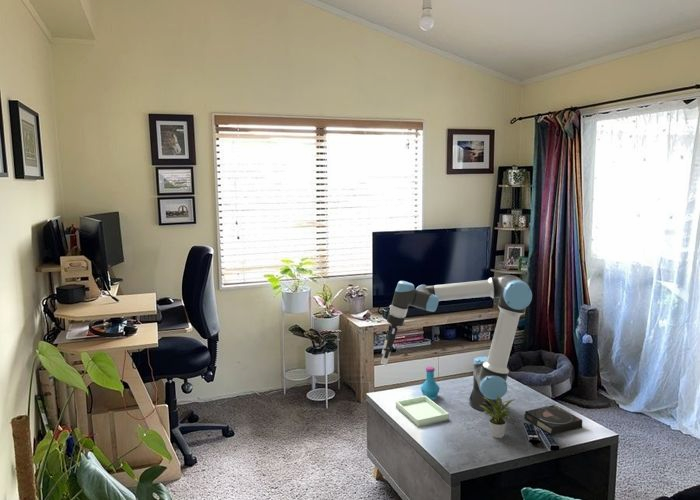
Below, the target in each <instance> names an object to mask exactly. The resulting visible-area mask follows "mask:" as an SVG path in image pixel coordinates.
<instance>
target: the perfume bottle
mask: <svg viewBox="0 0 700 500" xmlns="http://www.w3.org/2000/svg"><path fill="white" fill-rule="evenodd" d="M425 371H426V380H424V382H423V383H422V385H421V386H420V390H421V393H422V396H427V397H428V398H429V399H431V400H432V401H433V400H436V399H437V398H438V396H439V395H438V394H439V393H440V386H439V385H438V383H437V382H436V381H435V373H434V372H435V371H436V369H435V367H433V366H427V367H425Z"/></svg>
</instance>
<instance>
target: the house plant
mask: <svg viewBox="0 0 700 500" xmlns="http://www.w3.org/2000/svg"><path fill="white" fill-rule="evenodd" d="M483 398H484V397H483ZM485 399H487V398H485ZM487 400H488V402H489V403H490V404H492V405H491V406H493V407H492V408H493V410H494V411H493V410H492V411H490V410H488V409H487V408H485V407H484V406H481V405H480V406H481V407H482V408H483V409H484V410H485V411H483V412H481V413H482V414H488V415H490V418H489V419H488V424H489V429H490V431H489V432H490V435H491V436H492V437H493V438H496V439H501V438H503V437H504V436H505V430H506V428H507V427H506V426H507V420H506V419H504V418H508V419H510V418H511V417H510V414H511V412H510V411H509V410H507V407H508V406H509V405H510V404H511V403H512V401H515V400H516V398H515V399H510V400H506V401H504V402H503V399H502V398H501V402H500V404H499V397H498V395H497V400H496V405H497V407H496V405H495V404H494V405H495V406H494V405H493V403H494V402H493V401H492V402H493V403H492V402H491V401H490V400H489V399H487ZM484 404H485V403H484ZM504 404H505V405H504ZM486 405H487V404H486ZM495 407H496V408H495ZM509 413H510V414H509Z"/></svg>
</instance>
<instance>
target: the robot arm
mask: <svg viewBox="0 0 700 500" xmlns="http://www.w3.org/2000/svg"><path fill="white" fill-rule="evenodd" d="M486 297H490V298H492V299H498V303H497V308H498V309H499V313H498V316H497V321H496V325H495V328H494V332H493V335H492V340H491V345H490V348H489V351H488V356H477V357H474V359H473V364H472V365H473V373H472V374H473V380H472V381H473V382H472V384H473V385H472V386H473V387H472V391H471V394H470V395H469V399H468V401H469V402H468V404H469V405H470V407H471V408H473V409H475V410H477V411H485V410H484V409H483V408H482V407H481V406H484V407H485V408H487V409H488V410H490V411H491V412H494V410H493V408H492V407H493V406H491V405H492V404H490V403H489V402H488V400H487V399H489V400H490V401H491V402H492V401H493V402H494V403H493V402H492V403H493V405H494V404H495V405H496V400H497V395H498V397H499V404H500V402H501V399H502V398H503V397H504V396H505V395H506V394H507V392H508V383H507V380H508V376H509V372H510V370H509V368H508V367H507V366H508V362H509V358H510V354H511V351H512V347H513V343H514V339H515V335H516V333H517V327H518V325H519V321H520V316H523V315H524V314H525V313H526V311H527V310H526V309H527V307H529V305H530V304H531V302H532V300H533V293H532V290H531V287H530V286H529V284H528V283H526V282H525V281H523V280H522V279H521V278H520V277H518V276H517V275H511V274H507V275H500V276H492V277H489V278H488V279H483V280H475V281H473V280H472V281H465V282H463V281H462V282H454V283H444V284H435V285H426V284H420V285H418V286H417V287H416V288H415V285H414V284H413V283H412V282H408V281H405V280H399V281H398V282H397V285H396V287H395V290H394V294H393V298H392V301H391V304H390V305H388V307H389V311H388V315H387V317H386V322H387V323H388V324H389V326H388V328H387V333H386V337H385V340H384V343H383V347H382V351H381V354H382V358H381V360H380V364H381V365H384V366H387V365H388V362H389V359H390V356H391V353H392V350H393V345H394V342H395V338H396V337H397V336H396V335H397V333H398V330H399V329H398V327H402V326H403V325H404V323H405V320H406V316H407V313H408V310H409V307H410V306H411V307H414V308H417V309H420V310H422V311H423V310H424V311H426V312H431V313H433V312H436V310H437V308H438V306H439V303H440V302H441V301H453V300H463V299H472V298H473V299H475V298H486ZM483 397H484V398H483ZM485 398H487V399H485ZM484 403H485V404H484ZM486 404H487V405H486ZM480 405H481V406H480ZM495 405H494V406H495ZM496 407H497V405H496ZM496 407H495V408H496ZM492 410H493V411H492Z"/></svg>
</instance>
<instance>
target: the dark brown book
mask: <svg viewBox="0 0 700 500" xmlns="http://www.w3.org/2000/svg"><path fill="white" fill-rule="evenodd" d="M524 419H525V420H526V421H527V422H529V423H531V424H533V425H534V426H535V427H537V428H538V429H540V428H542V429H544V430H545V431H547V432H548V433H550V434H551V435H550V434H549V435H550V436H554V435H558V434H563V433H566V432H570V431H575V430H578V429H583V419H582V418H579V417H578V416H576V415H574V414H572V413H570V412H569V411H567V410H565V409H563V408H562V407H559V406H558V405H556V404H551V405H548V406H543V407H538V408H534V409H529V410H525V413H524ZM542 429H541V430H542ZM544 430H543V431H544ZM545 431H544V432H545ZM547 432H546V433H547ZM548 433H547V434H548Z"/></svg>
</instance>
